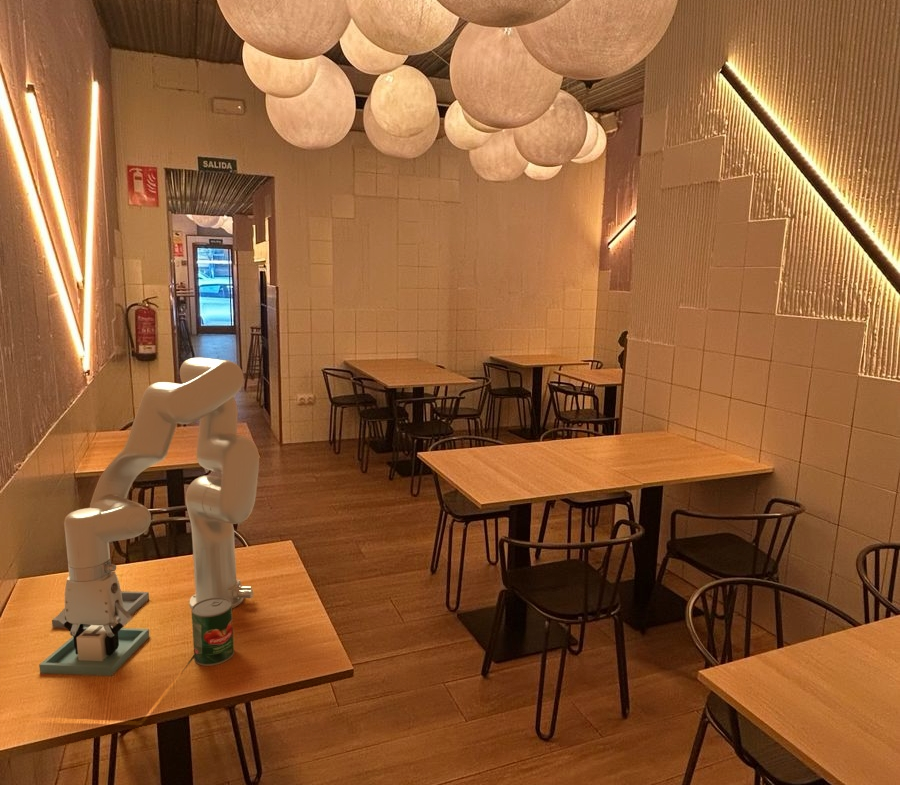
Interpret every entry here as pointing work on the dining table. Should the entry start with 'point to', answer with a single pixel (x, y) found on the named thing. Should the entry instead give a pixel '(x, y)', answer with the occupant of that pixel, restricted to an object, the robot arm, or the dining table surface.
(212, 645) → the canned tomato
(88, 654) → the letter cube
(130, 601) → the charcoal tray
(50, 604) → the dining table surface
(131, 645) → the teal tray
